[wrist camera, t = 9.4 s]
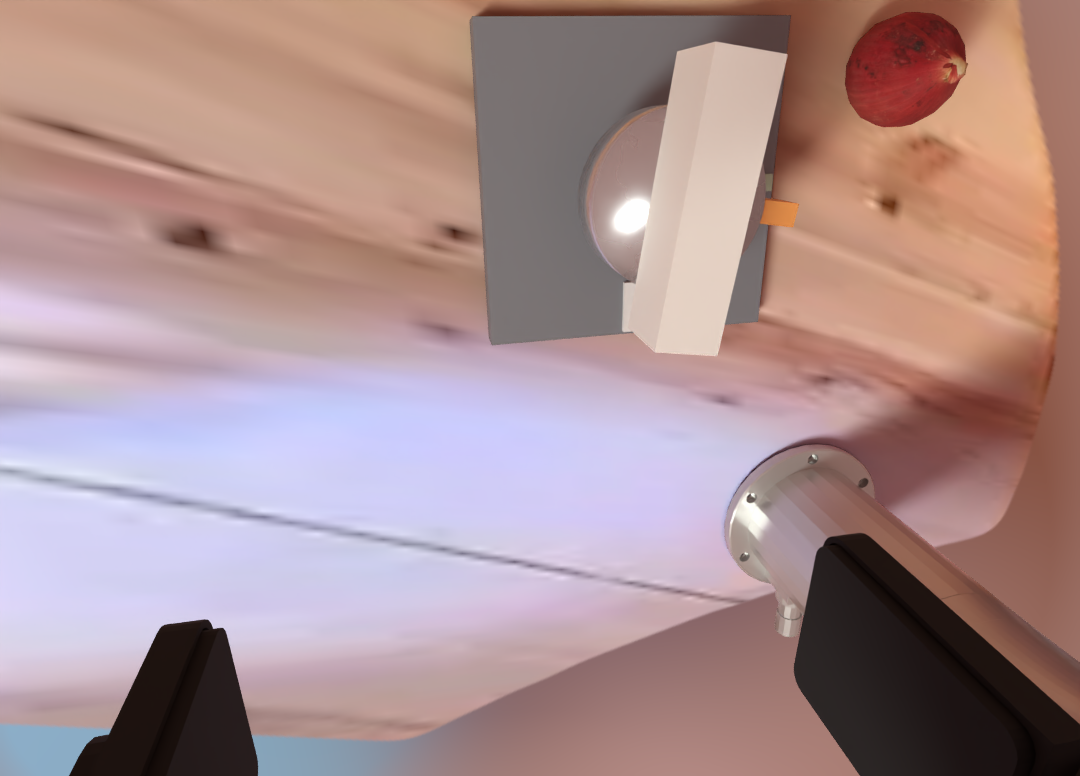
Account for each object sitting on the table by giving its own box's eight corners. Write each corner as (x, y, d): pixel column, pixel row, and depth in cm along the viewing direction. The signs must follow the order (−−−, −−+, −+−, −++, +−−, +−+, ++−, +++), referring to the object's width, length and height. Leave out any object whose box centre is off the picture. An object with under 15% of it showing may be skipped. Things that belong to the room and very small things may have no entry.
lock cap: (802, 82, 34) (894, 73, 27) (743, 321, 38) (811, 361, 32) (597, 47, 31) (647, 29, 25) (561, 308, 36) (595, 348, 30)
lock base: (747, 315, 45) (789, 340, 40) (488, 337, 42) (500, 367, 37) (777, 19, 38) (833, 3, 33) (469, 20, 35) (480, 3, 30)
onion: (799, 75, 39) (889, 65, 32) (871, -2, 38) (980, -30, 31) (849, 145, 42) (943, 151, 34) (918, 75, 41) (1029, 65, 33)
